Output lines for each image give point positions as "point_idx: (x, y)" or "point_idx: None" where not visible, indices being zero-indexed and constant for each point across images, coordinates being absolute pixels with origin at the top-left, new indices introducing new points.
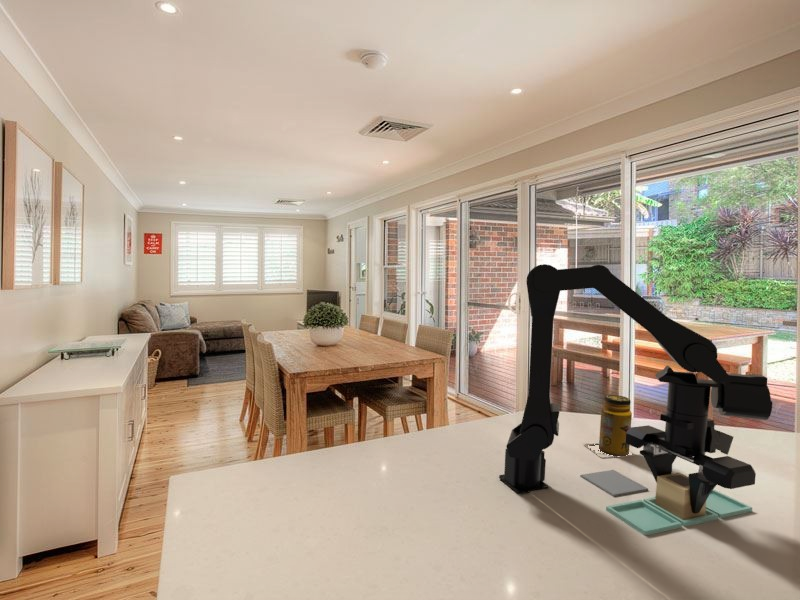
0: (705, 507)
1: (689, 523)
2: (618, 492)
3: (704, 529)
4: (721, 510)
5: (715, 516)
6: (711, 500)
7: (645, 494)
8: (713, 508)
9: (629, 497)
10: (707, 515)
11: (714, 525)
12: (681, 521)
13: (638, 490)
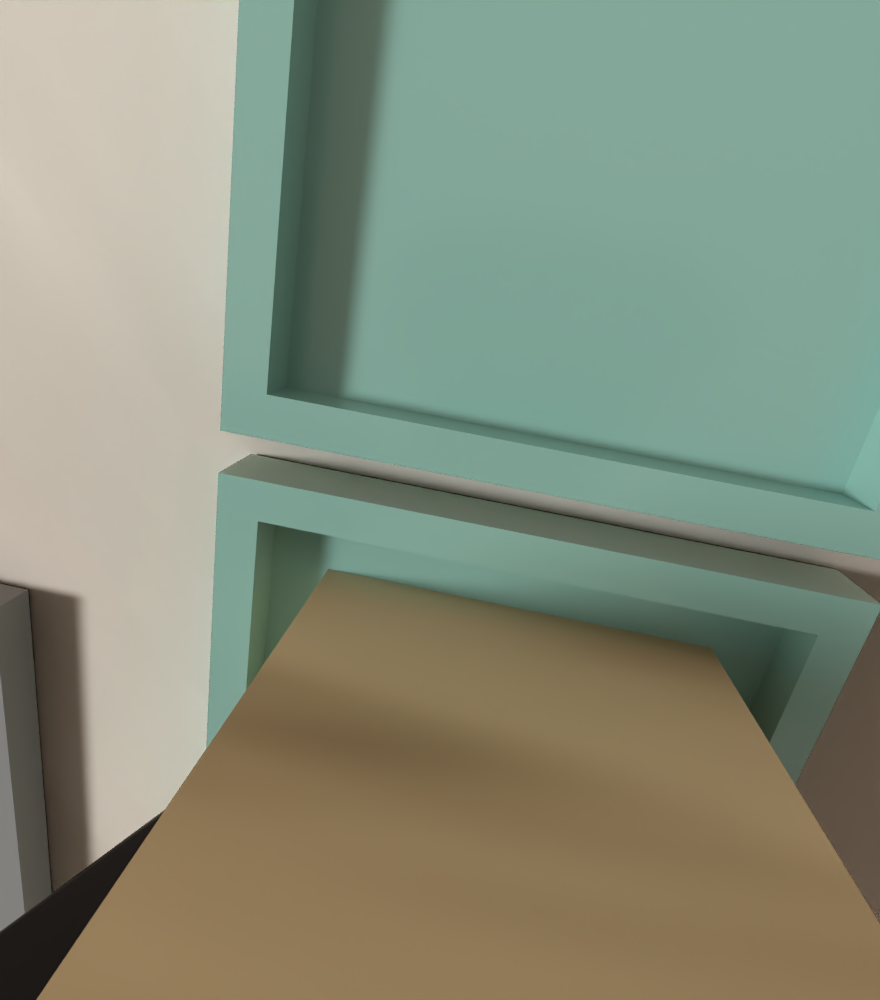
0: (754, 726)
1: None
2: (7, 925)
3: None
4: (810, 278)
5: (850, 650)
6: (568, 35)
7: (72, 665)
8: (702, 327)
9: (82, 840)
10: (777, 732)
11: (838, 707)
12: None
13: (11, 740)
